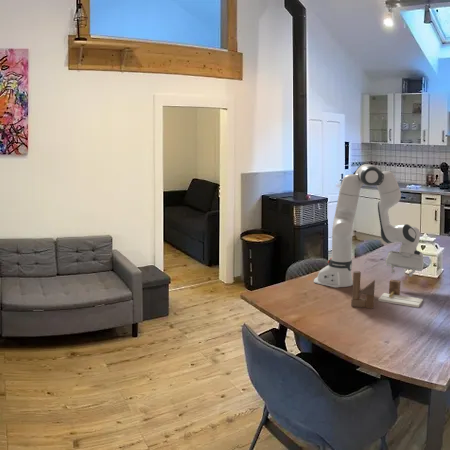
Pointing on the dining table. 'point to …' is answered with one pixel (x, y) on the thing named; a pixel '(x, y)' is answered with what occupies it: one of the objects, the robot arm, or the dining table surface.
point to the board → (401, 300)
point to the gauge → (394, 287)
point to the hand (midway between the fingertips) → (401, 274)
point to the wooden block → (367, 290)
